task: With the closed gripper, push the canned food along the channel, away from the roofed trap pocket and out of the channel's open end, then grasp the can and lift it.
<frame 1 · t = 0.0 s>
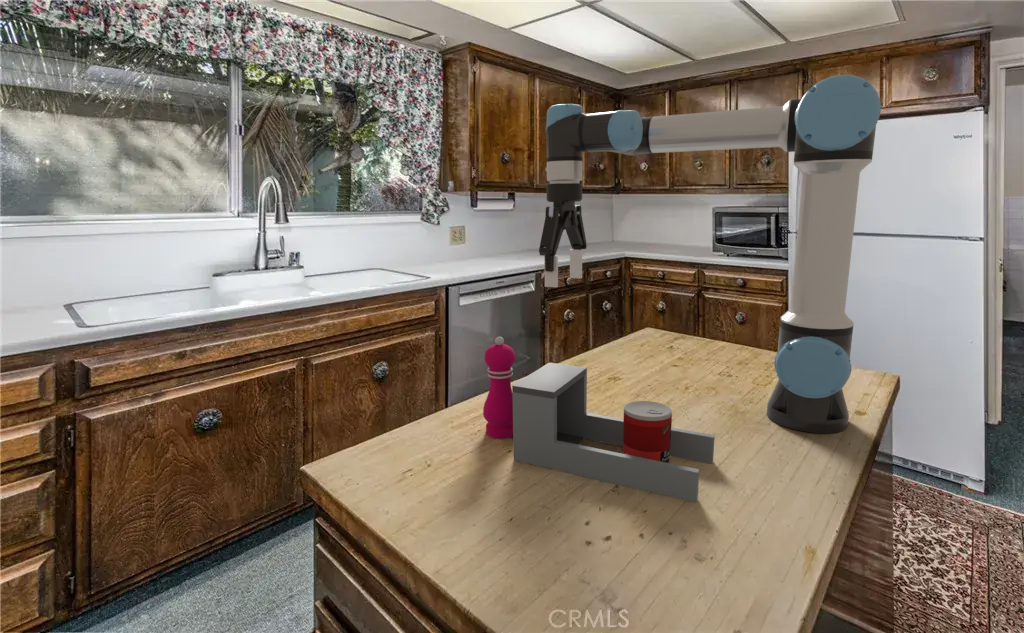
hand: (564, 282, 124), 28 cm above the counter, tool pointing down, fingers open, 13 cm apart
trap channel: (617, 461, 101), on the counter
canned food: (645, 469, 99), resting in trap channel
pepper mill: (501, 433, 114), on the counter
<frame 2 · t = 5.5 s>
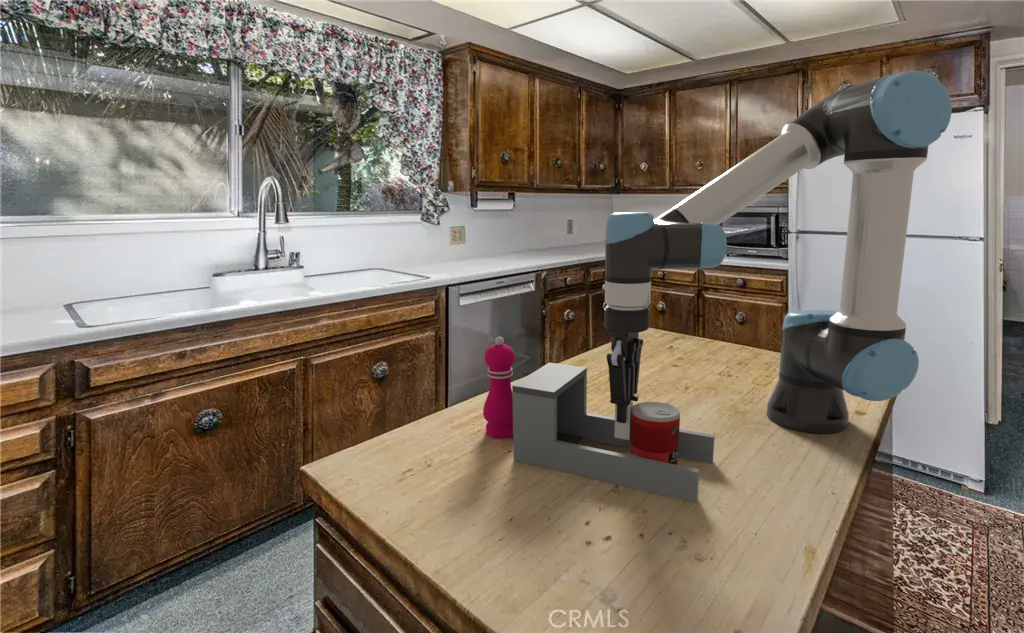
hand: (623, 437, 100), 5 cm above the counter, tool pointing down, fingers closed
canned food: (653, 470, 98), resting in trap channel, touching gripper
everything else where it was.
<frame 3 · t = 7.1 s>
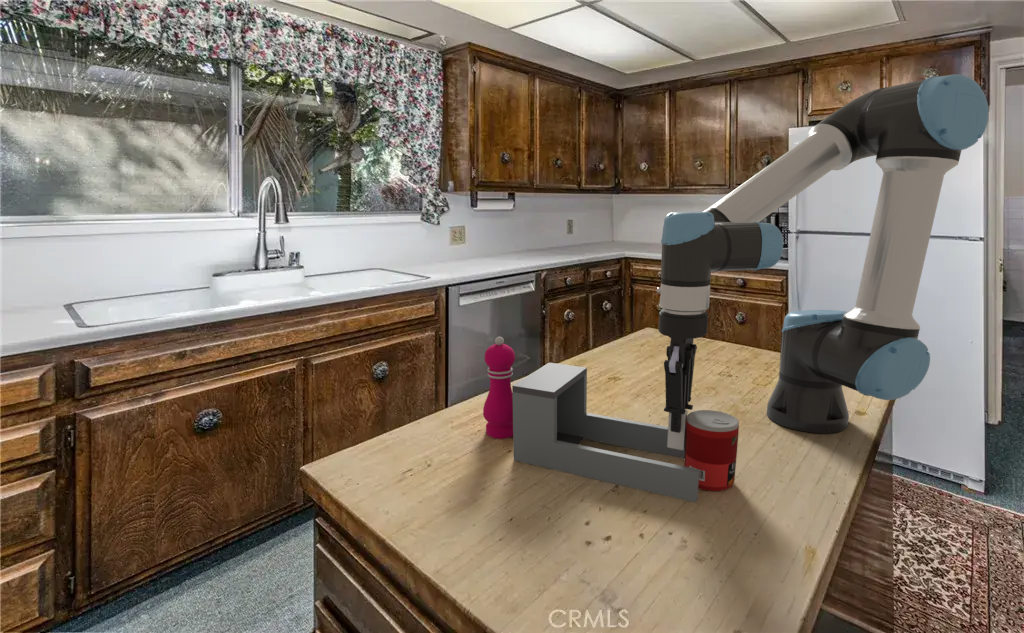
hand: (676, 446, 95), 5 cm above the counter, tool pointing down, fingers closed
canned food: (708, 481, 94), on the counter, touching gripper
everything else where it was.
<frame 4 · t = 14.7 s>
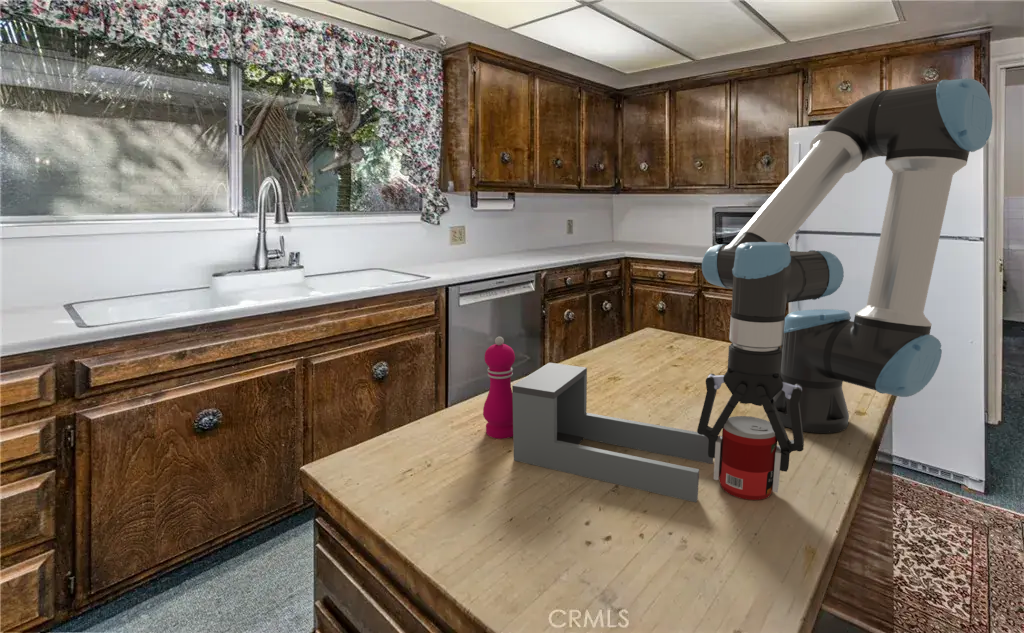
hand: (745, 481, 91), 1 cm above the counter, tool pointing down, fingers closed on canned food, 8 cm apart
canned food: (745, 489, 91), on the counter, touching gripper
everything else where it was.
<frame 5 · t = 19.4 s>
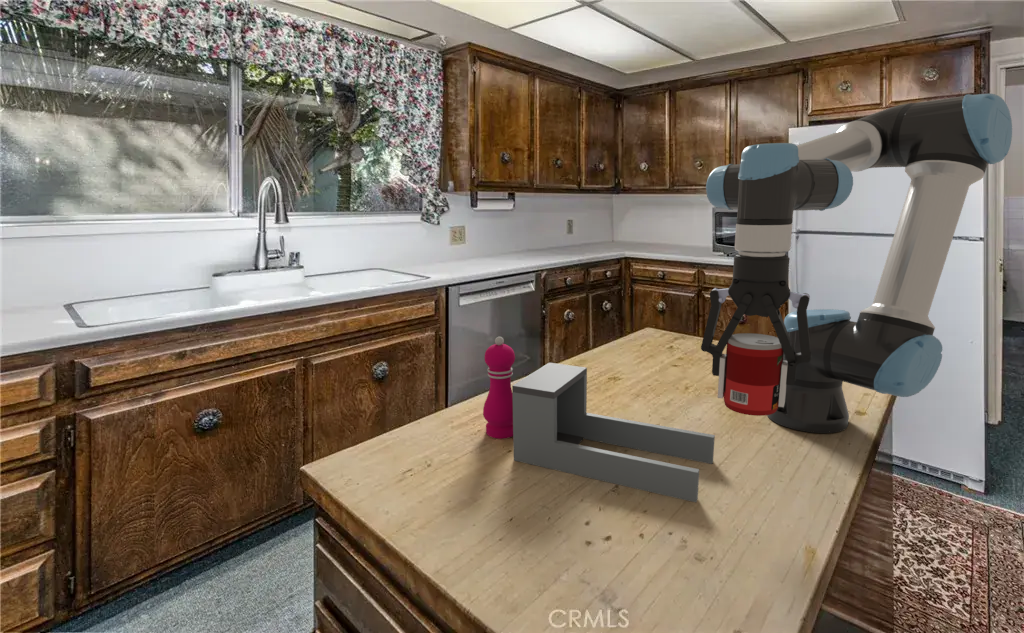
hand: (750, 399, 88), 15 cm above the counter, tool pointing down, fingers closed on canned food, 8 cm apart
canned food: (750, 408, 88), point 14 cm above the counter, touching gripper
everything else where it was.
at the end: canned food inside the target area (0.2 cm from its centre), point 13.7 cm above the counter; the gripper is holding canned food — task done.
